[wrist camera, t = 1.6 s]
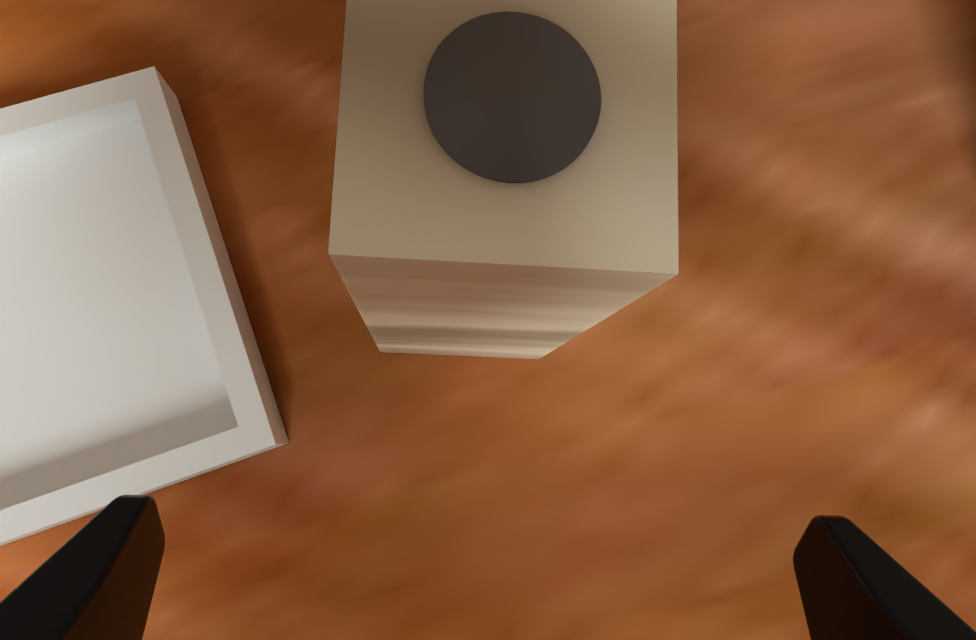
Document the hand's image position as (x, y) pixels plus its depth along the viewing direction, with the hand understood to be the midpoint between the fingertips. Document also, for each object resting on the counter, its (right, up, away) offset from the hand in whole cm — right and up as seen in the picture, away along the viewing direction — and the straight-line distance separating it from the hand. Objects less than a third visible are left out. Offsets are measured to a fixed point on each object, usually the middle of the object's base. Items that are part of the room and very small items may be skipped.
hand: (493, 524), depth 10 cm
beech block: (-1, +4, +13) cm, 14 cm away
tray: (-14, +3, +12) cm, 18 cm away
